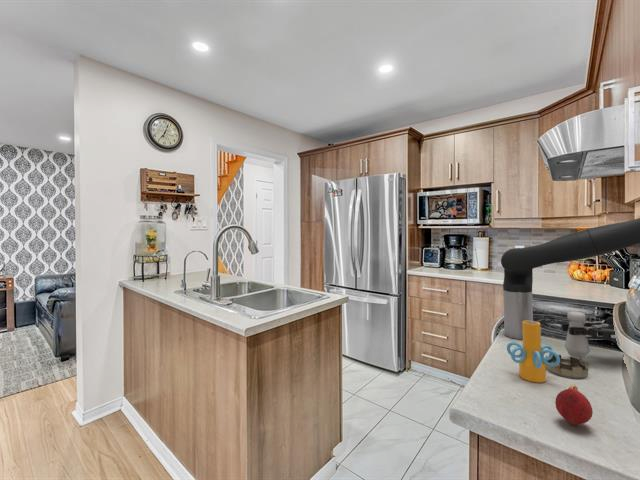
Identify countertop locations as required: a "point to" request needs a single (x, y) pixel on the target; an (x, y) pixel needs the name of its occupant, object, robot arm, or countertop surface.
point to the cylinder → (532, 354)
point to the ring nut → (568, 368)
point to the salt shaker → (576, 336)
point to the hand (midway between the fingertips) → (566, 329)
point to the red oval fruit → (573, 406)
